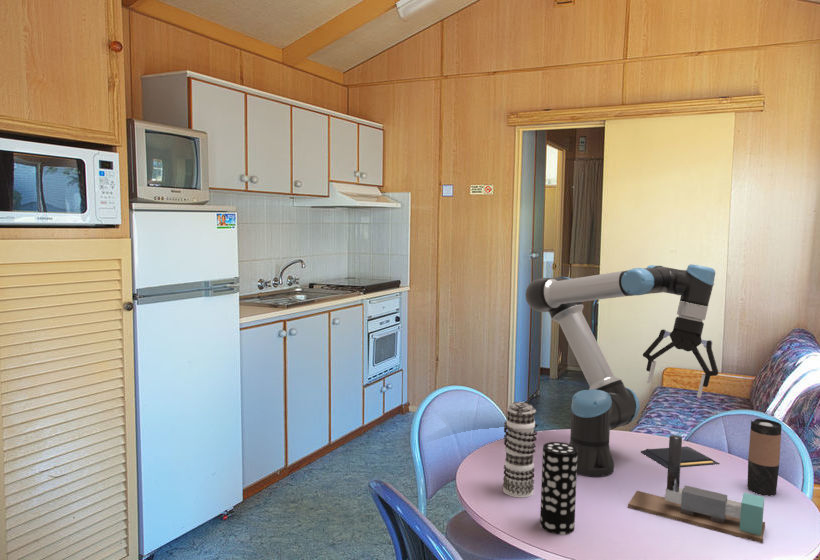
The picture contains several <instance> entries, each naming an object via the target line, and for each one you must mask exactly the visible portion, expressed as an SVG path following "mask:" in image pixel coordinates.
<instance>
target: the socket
mask: <svg viewBox="0 0 820 560" xmlns="http://www.w3.org/2000/svg"><path fill="white" fill-rule="evenodd" d="M764 507H765V496H763V495H758V494H754V493H753V494H752V493H747V492H743V494H742V499H741V516H740V531H744V532H748V533H752V534H756V535H760V536H761V531H762V524H763V522H764V520H763V519H764V510H765V509H764Z"/></svg>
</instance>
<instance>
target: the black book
mask: <svg viewBox="0 0 820 560" xmlns="http://www.w3.org/2000/svg"><path fill="white" fill-rule="evenodd" d="M640 454H641V455H644V456H645V455H646V456H645V457H647V458H648V459H650V458H651V459H650V460H652V461H654V462H655V461H656V462H655V463H657V464H659V465H660V464H661V465H660V466H662V467H664V468H665V469H667V470H668V456H669V447H662V448H660V447H659V448H648V449H645V450H640ZM715 464H716V465H720V462H717V461H716V460H714V459H712V458H711V457H710V456H707V455H705V454H703V453H701V452H699V451H697V450H695V449H694V448H691V447H690V446H682V449H681V466H680V468H691V467H702V466H713V465H714V466H715Z"/></svg>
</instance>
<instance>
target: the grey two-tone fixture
mask: <svg viewBox="0 0 820 560" xmlns="http://www.w3.org/2000/svg"><path fill="white" fill-rule="evenodd" d="M668 443H669V444H668V448H669V456H668V469H667V474H666V477H667V479H666V488H665V491H664V492H665V493H664V497H665V500H666V501H670V502H674V503H678V504H681V498H682V490H683V488H681V487H680V480H681V467H680V466H681V449H682V447H683V446H682V444H683V437H682V436H680V435H676V434H670V435H669V442H668ZM741 502H742V501H741ZM741 502H740V501H736V500H732V499H728V498H727V500H726V504H725V515H726V516H730V517H734V518H738V519H740V516H741Z"/></svg>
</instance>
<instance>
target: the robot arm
mask: <svg viewBox="0 0 820 560" xmlns="http://www.w3.org/2000/svg"><path fill="white" fill-rule="evenodd" d="M715 278H716V270H715V269H714V268H712V267H709V266H703V265H699V264H688V265H687V268H686V270H685V269H677V268H672V267H667V266H663V265H653V264H650V265H648V266H647V267H643V268H642V267H635V268H631V269H628V270H621V271H615V272H609V273H608V272H607V273H600V274H596V275H595V274H594V275H590V276H589V275H587V276H583V277H575V278H571V277H566V276H556V277H541V278H536V279H535V280H532V281H531V282H530V283H529V284H528V285H527V287H526V289H525V296H524V297H525V300H526V303H527V304H528V306H529V307H530V308H531V309H532V310H534V311H536V312H538V313H539V312H541V313H548V314H549V316H550V317H551V320H552V321H554V322H556V323H558V325H559V326H560V328H561V331H562V332H563V334H564V336H565V338H566V341H567V343H568V344H569V347H570V349H571V351H572V353H573V355H574V357H575V359H576V361H577V364H578V365H579V367H580V369H581V371H582V373H583V376H584V378H585V379H586V382H587V384H588V386H589V389H584V390H579V391H576V392H575V393H574V395H573V396H572V398H571V399H572V400H571V405H570V410H571V412H570V435H569V437H570V438H569V442H568V444H571V445H573V446H575V447H576V448H577V449H578V457H577V475H580V476H584V477H585V476H587V477H596V478H597V477H607V476H610V475H612V474H613V473H614V471H615V461H614V456H613V455H612V451H611V447H610V435H611V432H610V431H611V430H614V429H617V428H620V427H624V426H626V425H629V424H630V423H632V422H634V420H636V418H638V417H639V416H638V415H639V413H640V407H641V405H640V399H639V398H638V395H637V394H636V392H634V391H633V389H630V388H629V387H626V385H624V382H623V381H622V379H621V378H619V377H616V376H615V375H614V373H613V372H612V369H611V368H610V365H609V363H608V361H607V359H606V357H605V356H604V353H603V351H602V349H601V348H600V346H599V343H598V341H597V340H596V337H595V336H594V334H593V332H592V329H591V328H590V325H589V324H588V322H587V319H586V317H585V316H584V314H583V310H584V306H585V305H584V304H583V302H589V301H599V300H605V299H606V300H607V299H614V298H622V297H632V296H643V295H651V294H660V293H662V294H663V293H666V294H671V295H677V296H680V299H679V301H678V306H677V311H676V315H677V316H676V317H675V319H674V320H675V321H674V325H673V327H672V328H673V329H672V331H668V330H666V329H660V332H659V335H658V337H656V338H655V339H654V340H653V342H652V343H651V344H650V345H649V347H647V349H645V351H644V352H643V354H642V356H643V358H645V359H647V363H646V364H647V365H646V369H645V370H646V372H649V373H648V377H647V381H646V383H647V384H649V385H650V384H651V383H652V382H653V378H654V372H655V369H656V364H657V361H655V360H656V359H657V358H659V357H660V356H662V355H663V354H665V353H666V352H668V351H669V350H671V349H673V348H676V349H677V350H683V351H684V352H692V353H693V355H694V356H695V359H696V360H697V362H698V363H699V365H700V368H701V369H702V370H703V374H702V375H701V378H700V382H699V387H698V391H697V395H696V397H697V398H699V399H700V398H701V397H702V395H703V390H704V387H705V388H707V387H708V386H709V384H710V379H711V377H713V376H718V375H719V370H718V366H717V363H716V359H715V355H714V352H713V348H712V347H713V341H712V340H710V339H709V340H706V339H702V334H703V329H704V325H705V324H704V322H703V321H705V320H706V317H707V313H708V309H709V303H710V300H711V296H712V291H713V287H714V285H715V283H714V282H715ZM667 337H669V338H670V340H671V342H670V343H668V344H667V345H665V346H664V347H662V348H660V350H658V351H656V352H655V353H653V354H652V355H651V353H652V352H653V351H654V350H655V349H656V348H657V346H659V345H660V343H661V342H662V341H663V340H664V339H665V338H666V339H667ZM701 344H702V345H703V348H705V351H706V354H707V357H708V361H709V364H710V367H711V370H710V369H709V367H708V364H707V363H706V362H705V359H704V358H703V356H702V354H701V352H700V351H699V349H698V347H699V346H701Z"/></svg>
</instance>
